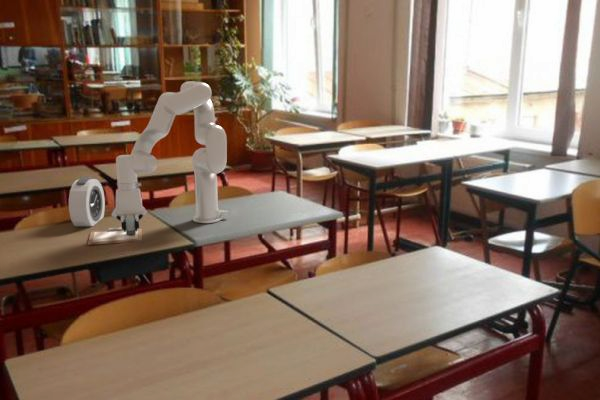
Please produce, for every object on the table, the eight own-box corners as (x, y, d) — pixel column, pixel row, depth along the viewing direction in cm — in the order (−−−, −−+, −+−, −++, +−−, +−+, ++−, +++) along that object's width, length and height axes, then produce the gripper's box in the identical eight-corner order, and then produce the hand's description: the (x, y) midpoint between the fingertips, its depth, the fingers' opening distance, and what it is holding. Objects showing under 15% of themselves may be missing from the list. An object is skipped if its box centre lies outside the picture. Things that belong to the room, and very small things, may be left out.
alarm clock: (88, 229, 239) (83, 183, 234) (71, 229, 239) (65, 183, 234) (106, 214, 259) (101, 172, 254) (90, 215, 260) (85, 172, 255)
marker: (136, 232, 233) (134, 208, 230) (136, 235, 229) (134, 211, 226) (125, 233, 232) (124, 209, 229) (125, 236, 228) (123, 212, 225)
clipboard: (141, 229, 239) (141, 226, 239) (141, 241, 224) (141, 237, 224) (91, 233, 234) (90, 229, 234) (87, 244, 219) (87, 241, 219)
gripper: (149, 183, 231) (151, 226, 236) (106, 185, 227) (109, 229, 231) (149, 187, 224) (152, 231, 229) (104, 189, 220) (108, 234, 224)
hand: (130, 230), depth 230 cm, fingers closed on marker, 3 cm apart
